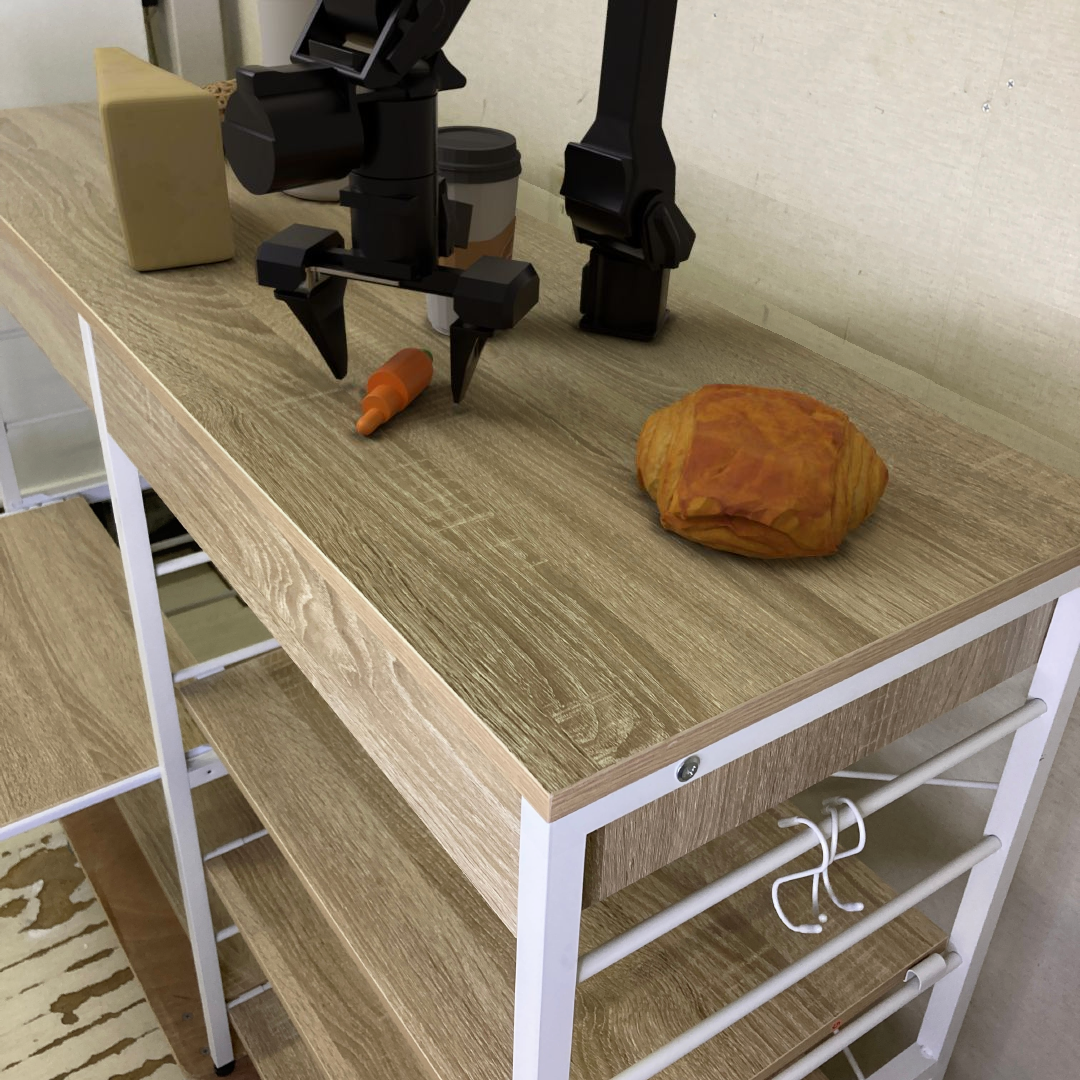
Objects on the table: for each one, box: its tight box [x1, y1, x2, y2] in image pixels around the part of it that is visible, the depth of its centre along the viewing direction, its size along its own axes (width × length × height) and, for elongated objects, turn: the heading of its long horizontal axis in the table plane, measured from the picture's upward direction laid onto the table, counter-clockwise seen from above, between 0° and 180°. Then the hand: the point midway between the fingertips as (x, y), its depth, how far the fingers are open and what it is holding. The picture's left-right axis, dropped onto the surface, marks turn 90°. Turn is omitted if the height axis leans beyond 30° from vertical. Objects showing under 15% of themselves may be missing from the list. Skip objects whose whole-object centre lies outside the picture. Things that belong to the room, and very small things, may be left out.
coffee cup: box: [425, 125, 523, 337], centre depth 87 cm, size 8×8×15 cm
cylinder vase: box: [256, 0, 373, 202], centre depth 114 cm, size 12×12×25 cm
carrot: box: [355, 347, 434, 436], centre depth 77 cm, size 10×3×3 cm, turn 161°
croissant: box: [634, 383, 890, 560], centre depth 67 cm, size 14×16×8 cm
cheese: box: [93, 46, 235, 272], centre depth 102 cm, size 22×10×15 cm, turn 29°
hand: (399, 389), depth 78 cm, fingers open, 9 cm apart
